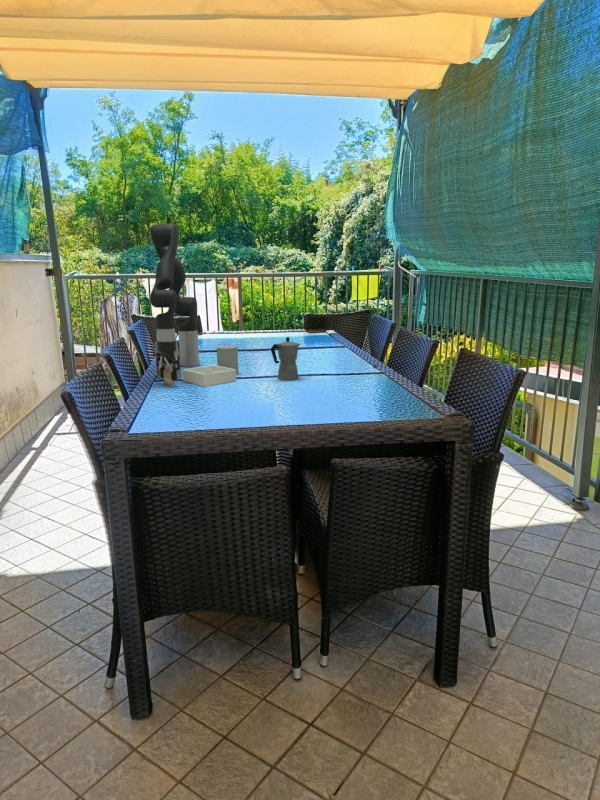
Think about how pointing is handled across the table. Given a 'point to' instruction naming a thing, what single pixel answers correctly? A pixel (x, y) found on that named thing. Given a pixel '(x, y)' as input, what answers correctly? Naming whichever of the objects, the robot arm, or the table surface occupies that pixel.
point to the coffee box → (172, 363)
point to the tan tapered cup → (168, 378)
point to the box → (209, 375)
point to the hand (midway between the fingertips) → (168, 378)
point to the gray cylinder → (228, 357)
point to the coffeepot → (286, 360)
